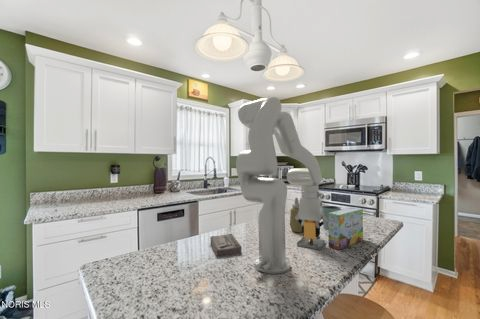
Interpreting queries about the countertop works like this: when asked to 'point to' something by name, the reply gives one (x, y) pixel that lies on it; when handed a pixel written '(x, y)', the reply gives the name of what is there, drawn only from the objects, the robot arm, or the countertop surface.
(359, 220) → the snack box
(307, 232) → the cube with dome knob
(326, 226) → the green cup
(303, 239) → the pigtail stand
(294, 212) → the squeeze bottle
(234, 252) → the box
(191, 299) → the countertop surface
